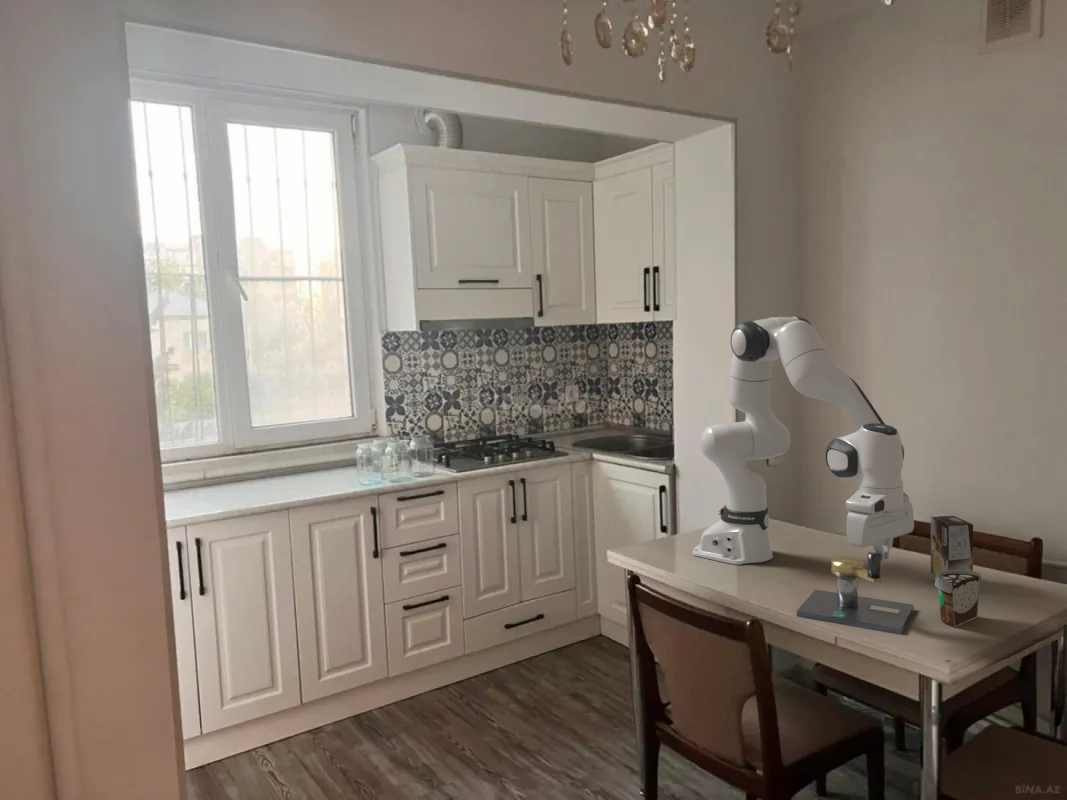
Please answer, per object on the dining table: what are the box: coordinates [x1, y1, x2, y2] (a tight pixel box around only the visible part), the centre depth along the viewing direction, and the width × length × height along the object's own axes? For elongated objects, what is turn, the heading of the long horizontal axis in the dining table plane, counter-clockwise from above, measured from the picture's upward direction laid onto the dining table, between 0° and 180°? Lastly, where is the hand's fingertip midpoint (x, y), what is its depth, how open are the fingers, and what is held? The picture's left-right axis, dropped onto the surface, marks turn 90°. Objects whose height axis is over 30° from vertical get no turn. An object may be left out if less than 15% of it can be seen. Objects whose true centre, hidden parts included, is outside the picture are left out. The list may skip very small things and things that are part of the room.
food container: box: [934, 570, 982, 628], centre depth 173 cm, size 12×6×10 cm, turn 123°
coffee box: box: [930, 515, 974, 582], centre depth 195 cm, size 9×6×16 cm
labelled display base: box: [796, 576, 915, 635], centre depth 178 cm, size 22×16×8 cm
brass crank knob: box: [830, 551, 882, 584], centre depth 177 cm, size 13×7×7 cm, turn 18°
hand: (882, 559), depth 173 cm, fingers closed
